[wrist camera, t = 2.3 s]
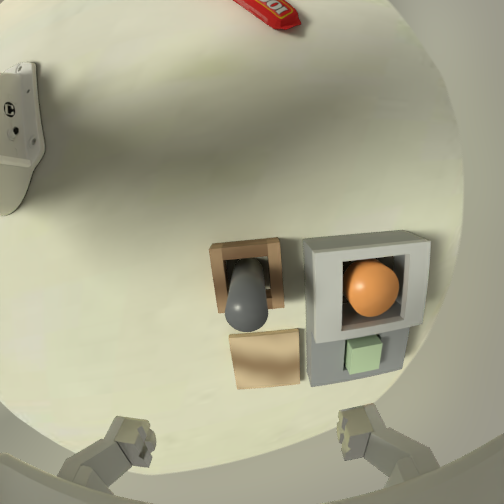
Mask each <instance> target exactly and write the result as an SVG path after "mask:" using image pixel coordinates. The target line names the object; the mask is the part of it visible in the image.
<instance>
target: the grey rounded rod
mask: <svg viewBox="0 0 504 504" xmlns="http://www.w3.org/2000/svg"><path fill="white" fill-rule="evenodd" d="M225 317H226V320H227V322H228V323H229V324H230V325H231V326H232V327H233V328H234V329H236V330H238V331H242V332H252V331H255V330H257V329H259V328H261V327H262V326H263V325H264V324H265V322H266V320H267V317H268V307H267V298H266V290H265V281H264V273H263V267H262V265H261V263H260V262H259V261H258V260H256V259H255V258H242V259H240V260H238V261H237V262H236V264H235V265H234V268H233V273H232V278H231V283H230V288H229V293H228V298H227V303H226V308H225Z"/></svg>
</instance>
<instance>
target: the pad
mask: <svg viewBox="0 0 504 504" xmlns="http://www.w3.org/2000/svg"><path fill="white" fill-rule="evenodd" d="M229 343H230V349H231V355H232V361H233V367H234V373H235V379H236V385H237V389H252V388H265V387H276V386H285V385H294V384H300V359H299V331H298V328H297V329H288V330H278V331H268V332H257V333H245V334H231V335H229Z"/></svg>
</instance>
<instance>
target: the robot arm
mask: <svg viewBox="0 0 504 504" xmlns="http://www.w3.org/2000/svg"><path fill="white" fill-rule="evenodd" d="M35 141H36V143H35ZM44 152H45V143H44V137H43V131H42V125H41V118H40V110H39V101H38V90H37V77H36V65H35V63H31V62H22V63H18V64H16V65H14V66H12V67H10V68H8V69H7V70H5V71H4V72H2V73H0V216H5V215H8V214H10V213H12V212H13V211H14V210H15V209H16V208H17V207H18V206H19V205H20V203H21V202H22V200H23V198H24V196H25V194H26V191H27V189H28V186H29V183H30V179H31V176H32V173H33V171H34V169H35V167H36V166H37V164H38V163H39V161H40V160H41V158H42V156H43V154H44ZM338 418H339V422H338V423H337V436H338V440H339V443H341V444H342V448H341V451H342V454H343V457H344V460H345V461H347V460H352V459H357V458H362V457H364V459H366V460H367V461H368V462H370V463H371V464H372V465H374V466H375V467H376V468H377V469H379V470H380V471H381V472H383V473H384V474H385V475H387V476H388V477H389V479H388V481H387V483H386V485H385V486H384V488H383V489H381V490H377V491H374V492H370V493H367V494H363V495H359V496H355V497H351V498H346V499H342V500H337V501H332V502H327V503H321V504H504V433H503V434H501V435H499V436H497V437H496V438H494V439H493V440H491V441H489V442H488V443H486V444H484V445H482V446H481V447H479V448H477V449H475V450H474V451H472V452H470V453H468V454H466V455H464V456H462V457H461V458H459V459H457V460H455V461H452V462H451V463H448V464H446V465H444V466H442V467H440V466H439V464H438V462H437V460H436V458H435V456H434V455H433V453H432V451H431V449H430V448H429V447H427V446H425V445H423V444H421V443H419V442H417V441H415V440H413V439H411V438H409V437H407V436H405V435H403V434H401V433H399V432H397V431H395V430H394V429H392V428H390V427H389V428H386V426H385V424H384V422H383V420H382V418H381V416H380V414H379V412H378V410H377V408H376V406H375V404H374V403H371V404H367V405H363V406H358V407H353V408H349V409H344V410H339V413H338ZM155 447H156V436H155V433H154V431H152V430H151V429H150V423H149V421H148V420H144V419H136V418H129V417H122V416H116V417H115V418H114V420H113V422H112V424H111V426H110V428H109V430H108V432H107V434H106V436H105V438H104V439H100V440H98V441H97V442H95V443H93V444H92V445H90V446H88V447H87V448H85V449H83V450H81V451H80V452H78V453H76V454H74V455H73V456H71V457H69V458H67V459H66V460H65V462H64V464H63V466H62V468H61V469H60V471H59V473H58V475H57V476H54V475H52V474H49V473H47V472H45V471H43V470H40V469H38V468H36V467H34V466H32V465H30V464H28V463H25V462H23V461H21V460H19V459H18V458H16V457H14V456H12V455H10V454H8V453H0V504H153V503H148V502H141V501H137V500H132V499H128V498H124V497H119V496H115V495H114V493H113V492H112V491H111V490H110V489H109V488H108V487H109V486H110V485H111V484H112V483H113V482H115V481H116V480H117V479H118V478H119V477H121V476H122V475H123V474H124V473H125V472H126V471H127V470H129V469H130V468H131V467H132V465H133V466H140V467H148V468H149V466H150V463H151V460H152V455H151V454H150V453H151V452H152V451H154V450H155Z"/></svg>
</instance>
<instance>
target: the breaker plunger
mask: <svg viewBox="0 0 504 504" xmlns="http://www.w3.org/2000/svg"><path fill="white" fill-rule="evenodd" d="M342 291H343V294H344V296H345V297H346V298H347V300H348V301H349V302H350V304H351V305H352V307H353V308H354V309H355V311H356V312H358V313H359V314H361V315H363V316H366V317H374V316H378V315H380V314H382V313H384V312H386V311H387V310H388V309H389V308H390V307H391V306H392V305H393V303H394V302H395V300H396V298H397V295H398V292H399V282H398V278H397V276H396V274H395V273H394V272H393V271H392V270H391V269H390V268H388V267H387V266H385V265H384V264H383V263H381V262H380V261H378V260H377V259H374V258H370V259H361V260H356V261H355V262H353V263H352V264H351V265H350V266H349V267H348V268H347V269H346V271H345V273H344V275H343V290H342Z"/></svg>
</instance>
